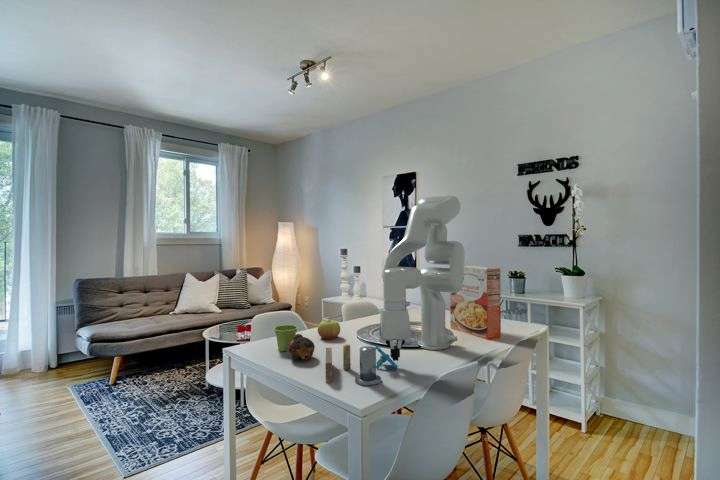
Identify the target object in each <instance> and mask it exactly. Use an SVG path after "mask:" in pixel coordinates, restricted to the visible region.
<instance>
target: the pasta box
mask: <svg viewBox="0 0 720 480" xmlns="http://www.w3.org/2000/svg"><path fill="white" fill-rule="evenodd" d="M449 293H450V292H449ZM449 296H450V298H449V300H450V303H449V304H450V305H449V306H450V307H449V308H450V312H449V313H450V314H449V315H450V317H449V318H450V320H449V321H450V329H452V330H455V331H458V332H461V333H463V334H468V335H469V336H470V335H471V336H474V337H477V338H480V339H483V340H486V341H489V340H493V339H499V338H501V335H502V334H501V333H502V330H501V329H502V327H501V326H502V325H501V317H502V316H501V314H502V313H501V310H502V309H501V302H502V301H501V268H499V267H493V266H492V267H490V266H478V265H470V264H469V265H468V264H464V275H463V285H462V288H461V290H460V291H459V292H457V293H450V294H449Z"/></svg>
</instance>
